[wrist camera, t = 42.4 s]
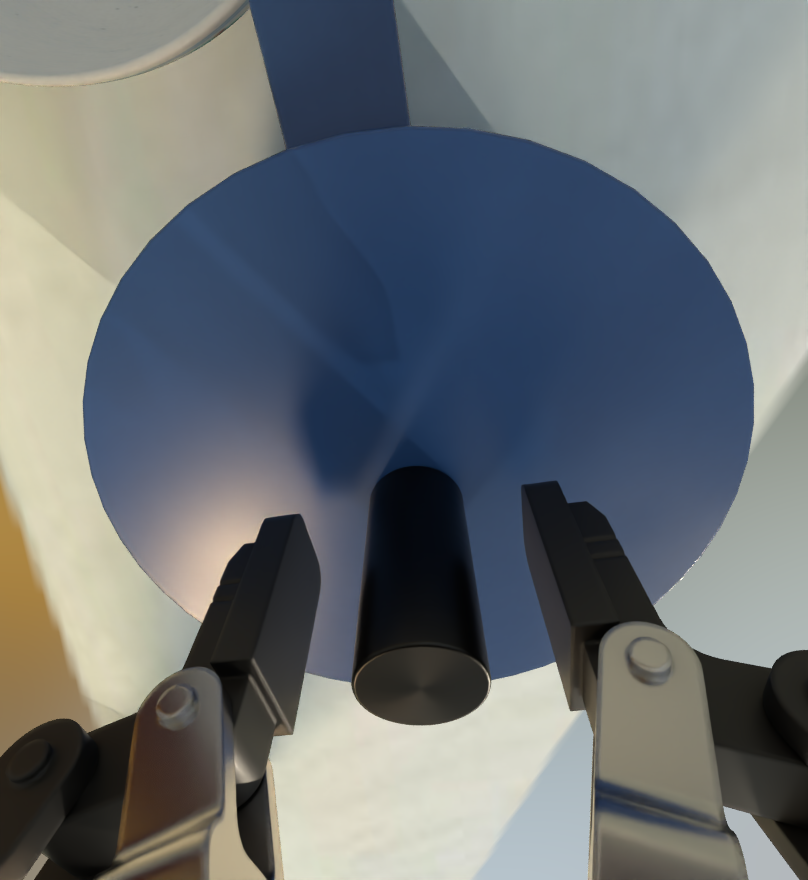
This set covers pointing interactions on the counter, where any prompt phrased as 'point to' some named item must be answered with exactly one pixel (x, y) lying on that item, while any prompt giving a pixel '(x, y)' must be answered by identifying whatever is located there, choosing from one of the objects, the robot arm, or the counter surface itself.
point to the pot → (332, 66)
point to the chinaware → (103, 37)
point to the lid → (416, 394)
